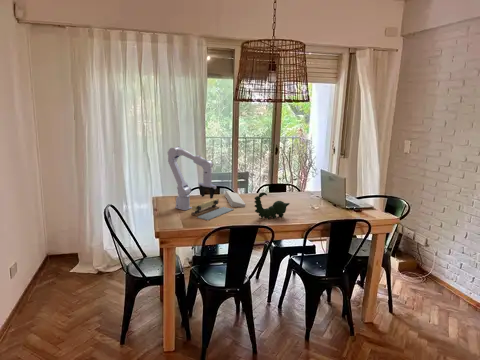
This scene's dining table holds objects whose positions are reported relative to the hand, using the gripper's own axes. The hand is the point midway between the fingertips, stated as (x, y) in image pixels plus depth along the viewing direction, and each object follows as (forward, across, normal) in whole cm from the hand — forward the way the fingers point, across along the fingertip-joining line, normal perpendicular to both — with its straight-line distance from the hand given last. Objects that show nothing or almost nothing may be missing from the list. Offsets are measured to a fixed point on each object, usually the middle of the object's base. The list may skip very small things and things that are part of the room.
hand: (207, 197), depth 246 cm
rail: (+6, +1, +1) cm, 7 cm away
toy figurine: (+10, -42, -18) cm, 47 cm away
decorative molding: (+11, +2, -36) cm, 37 cm away
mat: (+10, -8, 0) cm, 13 cm away
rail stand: (+10, +1, +1) cm, 10 cm away
